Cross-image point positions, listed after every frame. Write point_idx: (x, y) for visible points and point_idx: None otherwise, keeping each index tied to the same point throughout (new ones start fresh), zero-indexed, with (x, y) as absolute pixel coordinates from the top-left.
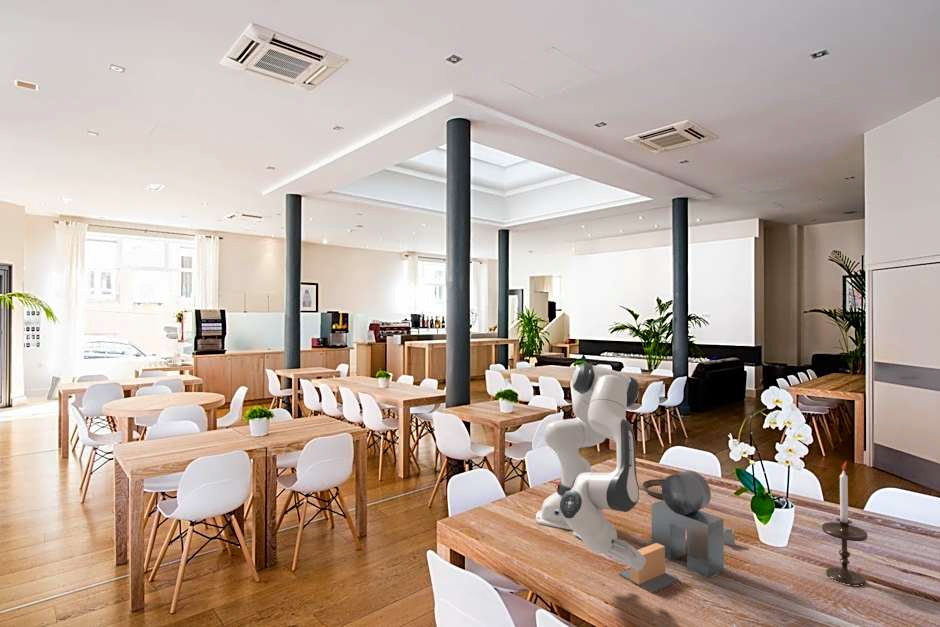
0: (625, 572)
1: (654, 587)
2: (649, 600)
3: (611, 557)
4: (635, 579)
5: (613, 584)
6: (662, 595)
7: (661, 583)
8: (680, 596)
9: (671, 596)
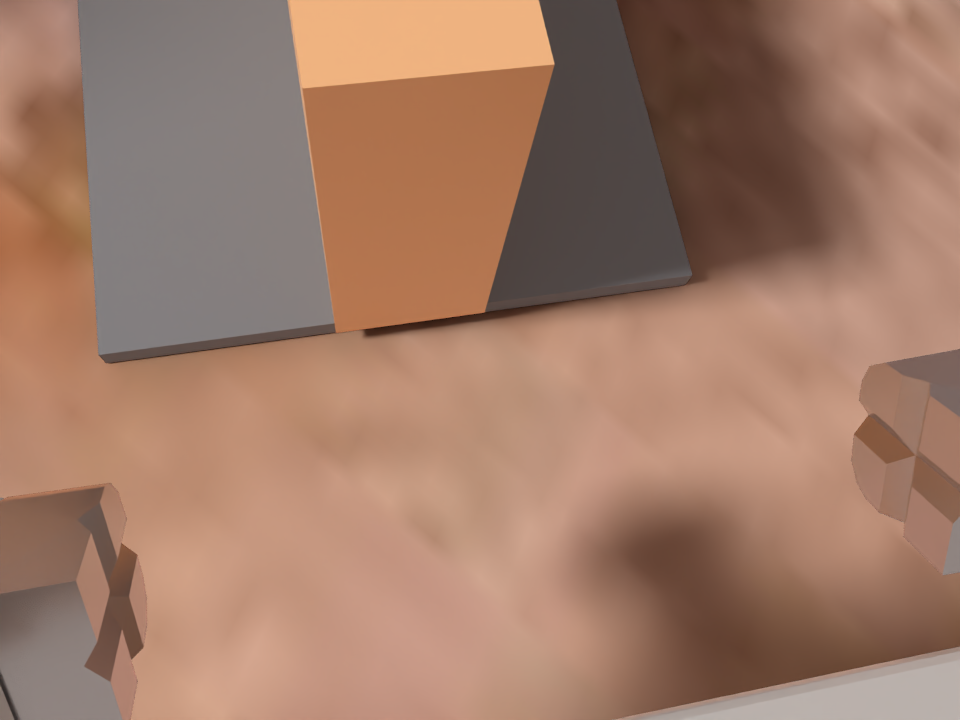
0: (129, 253)
1: (623, 189)
2: (816, 439)
3: (142, 611)
4: (427, 303)
5: (280, 627)
6: (765, 217)
7: (577, 55)
8: (840, 65)
9: (813, 146)
